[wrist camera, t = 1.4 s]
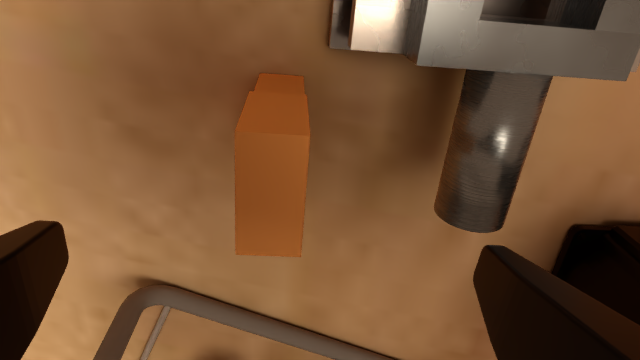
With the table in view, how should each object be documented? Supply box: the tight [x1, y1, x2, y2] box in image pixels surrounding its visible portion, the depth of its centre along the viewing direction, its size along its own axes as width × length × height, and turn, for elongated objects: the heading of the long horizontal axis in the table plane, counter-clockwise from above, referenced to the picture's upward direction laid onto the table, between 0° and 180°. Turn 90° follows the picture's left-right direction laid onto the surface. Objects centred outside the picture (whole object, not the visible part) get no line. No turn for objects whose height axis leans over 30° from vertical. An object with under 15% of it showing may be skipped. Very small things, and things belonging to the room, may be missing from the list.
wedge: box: [235, 73, 310, 257], centre depth 16 cm, size 4×2×9 cm, turn 175°
